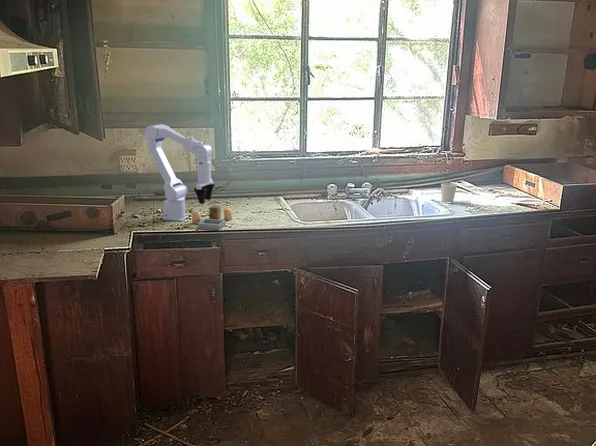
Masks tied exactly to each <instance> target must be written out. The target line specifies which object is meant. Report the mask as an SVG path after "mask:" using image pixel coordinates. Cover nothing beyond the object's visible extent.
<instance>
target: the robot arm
mask: <svg viewBox="0 0 596 446" xmlns="http://www.w3.org/2000/svg"><path fill="white" fill-rule="evenodd" d="M143 135H144V137H145V139H146V145H147V146H146V147H147V149H148V152H149V154H150V155H151V157H152V160H153V161H154V164H155V165H156V168H157V169H158V171H159V174H160V175H161V178H162V179H163V180H164V181H163V182H164V184H163V190H164V196H165V198H166V199H165V200H164V201H163V205H162V209H163V211H162V212H163V218H162V219H163V220H166V221H177V222H183V221H184V220H185V219H188V218H189V215H186V201H185V200H186V197H187V195H188V187H187V186H186V185H185V184H184V183H183V181H182V180H181V179H179V178H177V176H176V173H175V172H174V170H173V167H171V164H170V163H169V161H168V159H167V155H165V153H164V150H163V149H162V145H163V143H164V141H165V140H166V138H168V139H169V140H172V141H174V142H176V143H178V144H181V145H182V148H183V149H184V150H186V151H188V152H189V153H192V154H193V155H194V156H195V158H196V161H197V183H196V185H195V186H196V187H194V188H193V190H194V192H195V194H196V196H197V200H198V203H199V204H200V205H204V204H205V203H206V201H207V200H208V201H210V200H211V198H212V194H213V191H214V190H213V189H214V188H215V186H216V184H215V183H214V181H213V178H212V168H211V164H212V163H211V161H212V160H211V156H212V155H213V152H214V151H213V147H212V146H211V145H210V144H209V143H203V141H199V140H197V139H195V138H194V136H186V137H185V136H184V135H182V134H180V133H178V132H177V131H176V130H174V129H172V128H171V127H170V126H168V125H166V124H164V123H160V124H155V125H148V126H147V127H146V128H145V130H144V134H143Z"/></svg>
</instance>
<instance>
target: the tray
mask: <svg viewBox="0 0 596 446" xmlns="http://www.w3.org/2000/svg"><path fill="white" fill-rule="evenodd" d="M224 227H226V220H224V219H219V220H215V219H209V218H203V219H202V220H200V222H199V223H198V224H197V229H201V230H209V231H210V230H212V231H220V230H222V229H223V228H224Z"/></svg>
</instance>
